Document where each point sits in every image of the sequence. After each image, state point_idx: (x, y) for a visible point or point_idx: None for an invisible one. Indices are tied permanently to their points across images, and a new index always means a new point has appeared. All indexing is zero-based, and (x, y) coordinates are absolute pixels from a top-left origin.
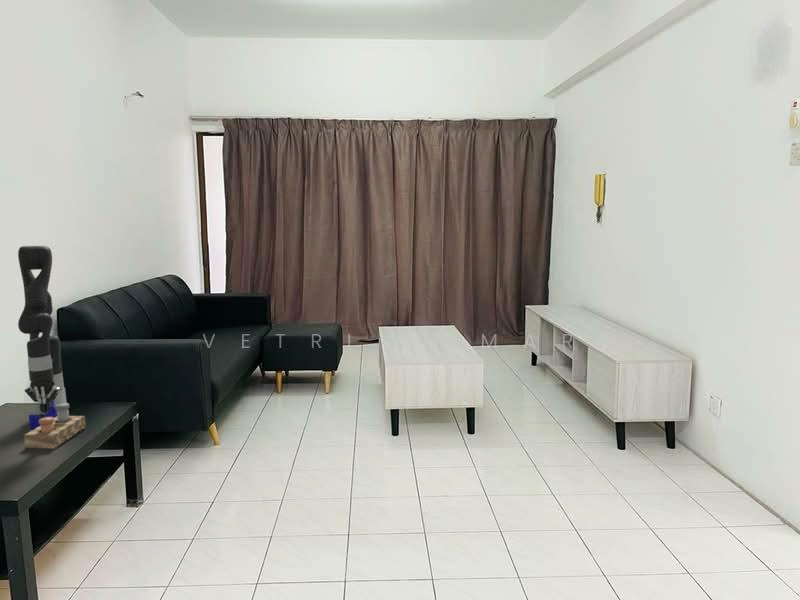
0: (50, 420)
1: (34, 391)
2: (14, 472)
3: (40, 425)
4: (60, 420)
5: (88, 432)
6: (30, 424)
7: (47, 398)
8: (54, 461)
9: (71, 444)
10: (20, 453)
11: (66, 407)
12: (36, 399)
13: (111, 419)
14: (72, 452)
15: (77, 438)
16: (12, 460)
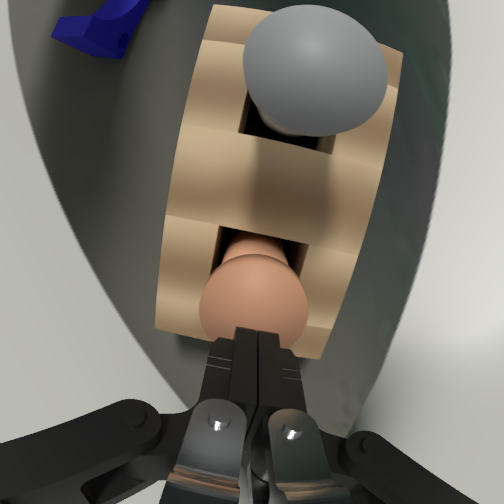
0: (296, 339)
1: (30, 498)
2: (245, 450)
3: (125, 32)
4: (290, 132)
5: (406, 142)
6: (81, 50)
7: (291, 464)
8: (337, 413)
9: (368, 287)
10: (184, 344)
11: (373, 111)
12: (153, 479)
13: (437, 8)
14: (382, 361)
15: (378, 216)
16: (191, 391)
